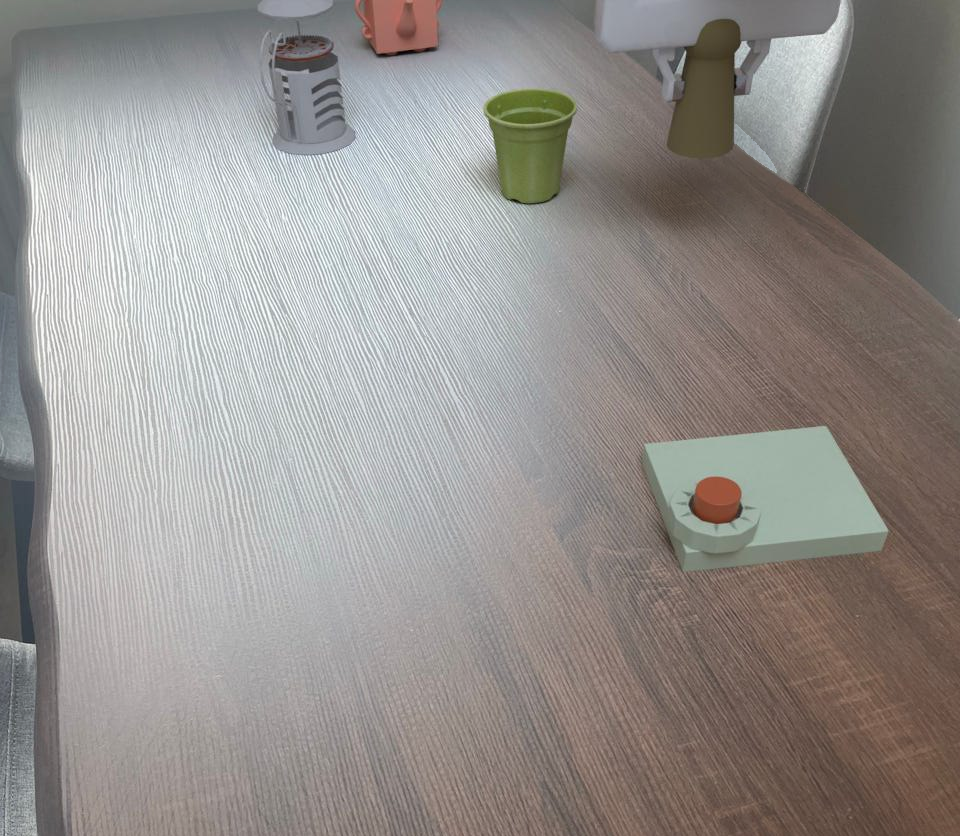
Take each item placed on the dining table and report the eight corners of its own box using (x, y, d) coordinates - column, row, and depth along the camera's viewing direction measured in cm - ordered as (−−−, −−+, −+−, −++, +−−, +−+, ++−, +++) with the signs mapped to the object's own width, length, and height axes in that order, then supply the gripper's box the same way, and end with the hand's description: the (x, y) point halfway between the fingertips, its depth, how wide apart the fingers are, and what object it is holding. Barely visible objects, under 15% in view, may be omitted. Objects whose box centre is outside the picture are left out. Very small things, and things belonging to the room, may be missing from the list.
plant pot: (497, 217, 105) (496, 129, 99) (476, 179, 111) (473, 93, 105) (585, 205, 106) (589, 117, 100) (559, 168, 112) (561, 83, 106)
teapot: (430, 24, 145) (427, -45, 139) (458, 59, 136) (455, -13, 129) (348, 34, 143) (341, -35, 137) (370, 70, 134) (364, -2, 127)
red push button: (730, 494, 70) (734, 473, 69) (743, 522, 68) (747, 502, 67) (687, 498, 70) (690, 478, 68) (699, 527, 68) (702, 507, 66)
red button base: (820, 445, 78) (831, 407, 76) (884, 555, 70) (898, 517, 67) (635, 464, 77) (639, 426, 75) (677, 578, 69) (684, 539, 66)
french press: (371, 128, 121) (345, -132, 103) (317, 167, 114) (279, -104, 96) (302, 115, 124) (265, -139, 106) (245, 152, 117) (195, -113, 99)
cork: (653, 147, 93) (664, 11, 85) (692, 125, 96) (706, -8, 88) (708, 164, 90) (725, 25, 82) (747, 141, 93) (766, 5, 85)
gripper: (604, -71, 77) (597, 121, 88) (867, -93, 78) (829, 99, 89) (588, -92, 82) (583, 93, 92) (838, -112, 83) (805, 73, 93)
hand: (706, 96), depth 90 cm, fingers closed on cork, 4 cm apart
